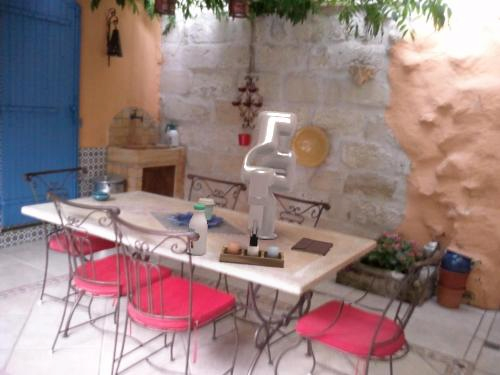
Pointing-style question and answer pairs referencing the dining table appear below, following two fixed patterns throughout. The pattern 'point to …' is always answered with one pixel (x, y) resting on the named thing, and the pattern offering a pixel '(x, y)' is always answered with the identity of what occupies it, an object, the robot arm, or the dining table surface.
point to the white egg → (252, 251)
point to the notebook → (312, 246)
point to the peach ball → (233, 248)
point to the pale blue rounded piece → (273, 252)
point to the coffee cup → (207, 207)
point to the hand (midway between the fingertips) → (253, 245)
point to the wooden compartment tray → (252, 258)
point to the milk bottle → (198, 230)
